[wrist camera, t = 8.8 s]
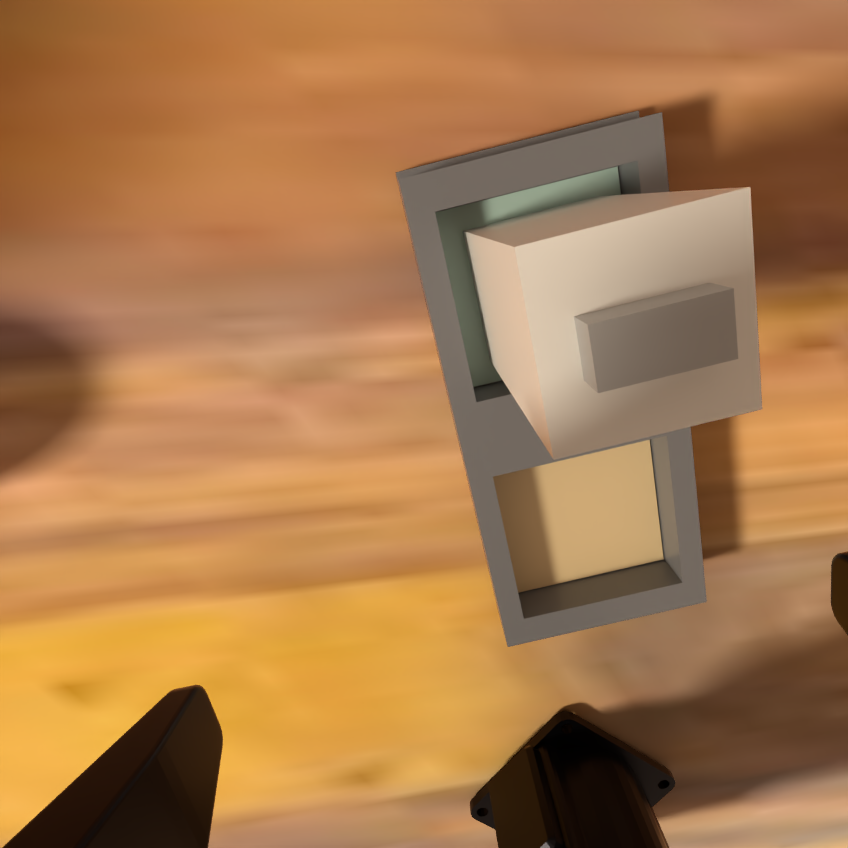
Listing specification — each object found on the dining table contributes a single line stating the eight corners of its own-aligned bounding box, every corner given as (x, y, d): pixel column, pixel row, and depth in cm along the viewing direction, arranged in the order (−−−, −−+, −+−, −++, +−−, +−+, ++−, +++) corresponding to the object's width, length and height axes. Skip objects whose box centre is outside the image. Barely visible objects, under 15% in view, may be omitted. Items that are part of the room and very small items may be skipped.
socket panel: (679, 573, 23) (707, 607, 21) (499, 614, 23) (509, 652, 21) (630, 113, 17) (660, 101, 16) (395, 173, 18) (395, 169, 16)
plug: (614, 329, 19) (788, 423, 11) (489, 360, 19) (564, 477, 11) (596, 196, 18) (779, 185, 9) (462, 230, 18) (523, 250, 9)
